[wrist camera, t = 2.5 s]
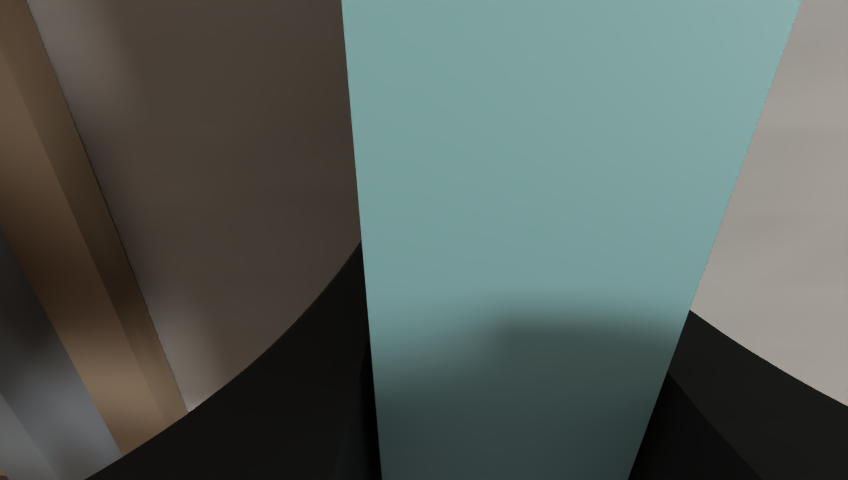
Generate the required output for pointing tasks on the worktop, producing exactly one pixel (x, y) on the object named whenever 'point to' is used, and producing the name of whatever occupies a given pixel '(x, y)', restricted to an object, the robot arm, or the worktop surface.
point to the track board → (65, 290)
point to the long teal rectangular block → (541, 215)
